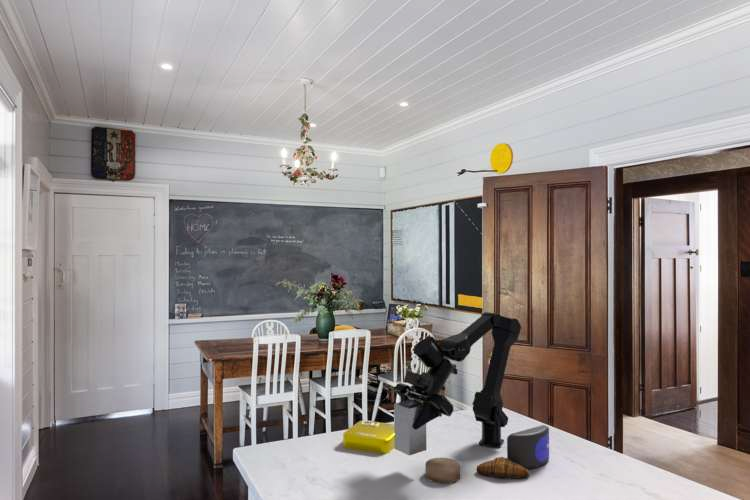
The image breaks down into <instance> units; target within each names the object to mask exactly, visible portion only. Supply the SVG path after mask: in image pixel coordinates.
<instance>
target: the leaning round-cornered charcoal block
mask: <svg viewBox="0 0 750 500" xmlns="http://www.w3.org/2000/svg"><path fill="white" fill-rule="evenodd" d="M506 458H508V459H509V460H511V461H512V462H515V463H517V464H519V465H521V466H523V467H524V468H526V469H527V470H531V469H536V468H539V467H541V466H544V465H545V464H546V463H547V462H548V461H549V459H550V427H549V426H547V425H545V424H544V425H543V424H542V425H539V426H538V425H537V426H535V427H531V428H526V429H524V430H521V431H517V432H513V433H510V434H509V435H508V436H507V438H506Z"/></svg>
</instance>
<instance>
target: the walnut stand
mask: <svg viewBox="0 0 750 500" xmlns="http://www.w3.org/2000/svg"><path fill="white" fill-rule="evenodd" d="M461 467H462V466H461V463H460V462H459V461H458V460H456V459H453V458H448V457H433V458H430V459H428V460H427V461H426V462H425V478H426V479H427V478H428V480H429V481H430V480H431V481H430V482H432V483H433V482H434V483H436V484H441V485H442V484H445V485H446V484H447V485H448V484H455V483H457V482H459V481H460V480H461V476H462V475H461V473H462V472H461V470H462V469H461Z"/></svg>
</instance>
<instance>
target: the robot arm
mask: <svg viewBox="0 0 750 500" xmlns="http://www.w3.org/2000/svg"><path fill="white" fill-rule="evenodd" d="M521 330H522V326H521V323H520V322H519V320H518V319H517V318H513V317H506V316H503V315H501V314H499V313H497V312H483V313H482V314H481V316H479V317H478V318H477V319H476V320H475V321H473V322H472V323H471V324H470V325H468V326H467V327H466V328H464V330H462V331H461V332H459V333H457V334H454V335H450V336H447V337H446V338H443V339H442V340H441V341H440V342H439V343H438V342H437V340H436V339H435V338H434V336H432V335H431V336H430V335H426V338H424V339H422V340H420V341H418V342H417V343H416V344H415V345H414V347H413V353H414V354H415V356H416V357H417V358H418V359H419V361H420V362H421V363H422V364H423V365H424V366H425V368H428V370H427V371H426V372H425V371H422V372H421V374H420V373H416V372H413V371H409V370H406V372H405V375H404V379H403V383H402V382H400V383H399V382H398V383H397V384H396V385H395V386H394V388H393V391H394V392H395V393H396V394H397V395H398V396H399V398H400V402H402V401H406V400H410V399H411V400H414V401H417V402H420V403H422V404H423V409H422V411H421V413H420V415H419V416H418V418H417V420H416V422H415V424H414V426H413V428H414V429H415V430H417V429H418V428H420V427H421V426H423V425H424V424H426V425H427V424H428V423H429V422H431V421H433V420H435V419H437V418H439V417H440V418H441V417H442V416H443V415H444V416H446V417H449V418H450V417H451V415H452V414H453V413H454V405H453V404H452V403H451V402H450V400H449V399H448V398H447V397H446V396H445V395H442V394H439V393H441V392H445V390H446V387H445V384H446V382H447V380H448V379H449V377H450V376H451V374H453V375H456V376H457V375H458V370H457V364H454V363H452V362H453V361H454V362H458V363H459V362H463V361H464V360H465V359H466V357H468V355H469V354H470V353H471V350H472V349H471V348H472V347H473V346H474V344H476V343H477V341H479V340H480V339H481V338H483V337H484V336H485V335H486V334H488V332H490V331H491V336H492V340H493V342H494V343H493V347H492V348H493V349H492V351H491V356H490V360H489V364H488V368H487V371H486V372H487V373H486V376H485V382H484V384H483V388H482V389H481V390H480V391H475V393H474V398H473V401H472V403H471V405H472V412H473V414H474V418H475V421H476V422H479V423H481V439H480V440H479V442H478V445H479V446H487V447H492V448H493V447H494V448H501V447H502V445H503V444H504V442H505V440H504V439H502V428H505V427H506V426H507V425H508V423H509V417H508V416H507V414H506V413H505V411H504V410H503V407H504V406H503V403H504V402H503V399H502V395H501V389H502V384H503V380H504V377H505V371H506V367H507V363H508V359H509V355H510V349H511V347H512V346H513V345H514V344H515V343H516V342H517V341H518V338H519V336H520V333H521ZM451 361H452V362H451ZM405 383H406V384H405ZM408 384H410V385H412V386H411V387H410V385H408ZM414 390H415V391H414Z"/></svg>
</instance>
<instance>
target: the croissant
mask: <svg viewBox="0 0 750 500" xmlns="http://www.w3.org/2000/svg"><path fill="white" fill-rule="evenodd" d="M475 471H476V473H478V474H479V475H484V476H488V477H496V478H501V479H525V478H529V476H530V469H526V468H524V467H523V466H521V465H519V464H517V463H515V462H512V461H511V460H509V459H508V458H507V457H504V456H500V457H499V456H498V457H495V458H493V459H491V460H487V461H484V462H482V463H480V464H478V465H477V466H476V468H475Z"/></svg>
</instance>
